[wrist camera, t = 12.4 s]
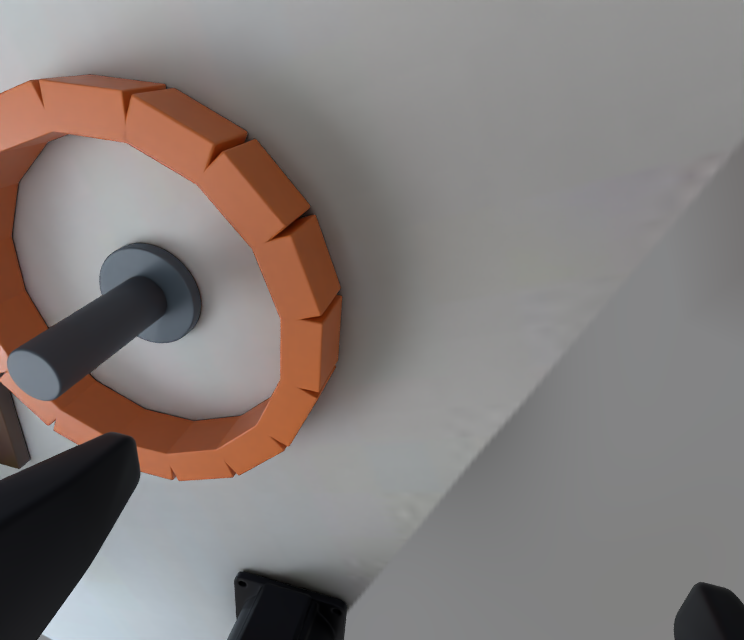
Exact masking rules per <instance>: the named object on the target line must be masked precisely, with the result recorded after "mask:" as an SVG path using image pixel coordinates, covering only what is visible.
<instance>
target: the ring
mask: <svg viewBox="0 0 744 640" xmlns="http://www.w3.org/2000/svg"><path fill="white" fill-rule="evenodd" d="M68 134H72V135H79V136H85V137H92V138H98V139H105V140H112V141H118V142H125V143H127V144H129V145H131V146H132V147H134V148H136V149H138V150H139V151H141V152H143V153H144V154H146V155H148V156H149V157H151V158H153V159H154V160H156V161H158V162H159V163H161V164H163V165H164V166H166V167H168V168H170V169H171V170H173V171H175V172H176V173H178V174H180V175H181V176H183V177H185V178H186V179H188V180H190V181H191V182H193V183H195V184H196V185H197V186H198V187H199V188H200V189H201V190H202V192H203V193H204V194H205V195H206V196H207V197H208V199H209V200H210V201H211V202H212V203H213V204H214V205H215V207H216V208H217V209H218V210H219V211H220V212H221V214H222V215H223V216H224V217H225V218H226V219H227V221H228V222H229V223H230V224H231V225H232V226H233V227H234V229H235V230H236V231H237V232H238V233H239V234H240V236H241V237H242V238H243V239H244V240H245V241H246V243H247V244H248V245H249V246H250V247H251V248H252V250H253V253H254V255H255V257H256V260H257V262H258V265H259V267H260V270H261V272H262V275H263V277H264V280H265V282H266V285H267V287H268V289H269V292H270V294H271V297H272V299H273V302H274V304H275V307H276V309H277V312H278V314H279V317H280V319H281V343H280V381H279V383H278V385H277V387H276V389H275V391H274V392H273V394H272V396H271V397H270V398H268V399H267V400H265V401H264V402H262V403H260V404H259V405H257V406H256V407H254V408H253V409H251V410H249V411H248V412H246V413H245V414H243V415H241V416H235V417H226V418H217V419H208V420H199V421H191V420H187V419H183V418H179V417H175V416H171V415H167V414H163V413H159V412H155V411H151V410H146V409H144V408H142V407H140V406H139V405H137V404H135V403H134V402H132V401H130V400H128V399H127V398H125V397H123V396H121V395H120V394H118V393H116V392H115V391H113V390H111V389H109V388H108V387H106V386H104V385H102V384H101V383H99V382H97V381H96V380H95V379H94V378H93V377H92V376H91V375H90V374H88V375H87V376H85V377H84V378H83V379H81V380H80V381H79V382H78V383H76V384H75V385H74V386H72V387H71V388H70V389H69V390H67V391H66V392H65V393H63V394H62V395H61V396H60V397H58V398H57V399H55V400H51V401H42V400H38V399H35V398H33V397H31V396H29V395H28V394H26V393H25V392H24V391H22V390H21V389H20V388H19V387H18V386H17V385H16V383H15V382H14V381H13V379H12V378H11V376H10V374H9V371H8V368H7V359H8V356H9V354H10V353H11V352H12V351H13V350H15V349H16V348H18V347H20V346H21V345H23V344H24V343H26V342H28V341H29V340H31V339H32V338H34V337H36V336H37V335H39V334H41V333H42V332H44V331H45V330H47V329H48V327H47V325H46V324H45V322H44V320H43V319H42V317H41V315H40V314H39V312H38V310H37V309H36V307H35V305H34V304H33V302H32V300H31V299H30V297H29V295H28V294H27V292H26V290H25V287H24V283H23V279H22V275H21V271H20V267H19V263H18V259H17V255H16V251H15V248H14V244H13V240H12V229H13V221H14V214H15V206H16V198H17V190H18V182H19V181H20V180H21V178H22V177H23V175H24V174H25V173H26V171H27V170H28V169H29V167H30V166H31V165H32V163H33V162H34V160H35V159H36V158H37V156H38V155H39V154H40V152H41V151H42V150H43V148H44V147H45V145H46V144H47V143H48V142H49V141H52V140H54V139H57V138H60V137H62V136H65V135H68ZM246 137H247V131H245V130H244V129H242V128H240V127H239V126H237V125H235V124H234V123H232V122H230V121H229V120H227V119H225V118H224V117H222V116H220V115H219V114H217V113H215V112H214V111H212V110H210V109H209V108H207V107H205V106H204V105H202V104H200V103H199V102H197V101H195V100H194V99H192V98H190V97H189V96H187V95H185V94H184V93H182V92H180V91H179V90H177V89H175V88H170V89H166V85H165V84H161V83H154V82H146V81H138V80H130V79H122V78H115V77H107V76H99V75H91V74H89V75H78V76H67V77H56V78H45V79H38V80H30V81H27V82H25V83H23V84H21V85H18V86H16V87H14V88H11V89H9V90H7V91H5V92H2V93H0V373H3V372H5V373H4V374H3V375H2V376H1V377H0V382H1V383H2V384H3V385H4V386H5V387H7V388H8V389H9V390H10V391H11V392H12V393H13V394H14V395H15V396H16V397H17V398H18V399H19V400H20V401H22V402H23V403H24V404H25V405H26V406H27V407H28V408H29V409H30V410H31V411H32V412H33V413H34V414H35V415H37V416H38V417H39V418H40V419H41V420H42V421H43V422H44V423H45V424H46V425H50V424H52V423H53V422H54V421H55V420H56V422H55V426H54V431H55V432H57V433H59V434H60V435H62V436H64V437H66V438H67V439H69V440H71V441H73V442H74V443H76V444H78V445H80V444H82V443H85V442H87V441H89V440H91V439H94V438H96V437H98V436H100V435H103V434H105V433H108V432H117V433H121V434H125V435H129V436H131V437H133V438H134V440H135V441H136V446H137V452H138V458H139V464H140V471H141V472H144V473H148V474H151V475H155V476H159V477H162V478H166V479H170V480H173V479H174V478H175V477H177V479H178V480H179V481H187V480H202V479H217V478H232V477H234V475H235V474H236V473H237V474H238V475H241V474H243V473H244V472H246V471H248V470H250V469H252V468H254V467H255V466H257V465H259V464H261V463H263V462H265V461H266V460H268V459H270V458H272V457H274V456H275V455H277V454H279V453H281V452H283V451H284V450H285V448H286V447H287V446H288V447H289V446H290V444H291V443H292V441H293V439H294V438H295V436H296V434H297V433H298V431H299V429H300V428H301V426H302V425H303V423H304V421H305V420H306V418H307V416H308V415H309V413H310V411H311V410H312V408H313V406H314V405H315V403H316V401H317V400H318V398H319V396H320V395H321V393H322V391H323V389H324V387H325V386H326V384H327V382H328V380H329V379H330V377H331V375H332V373H333V371H334V370H335V368H336V366H335V364H336V362H337V361H338V353H339V338H340V323H341V308H342V296H340V295H336V294H337V293H338V292H339V290H340V289H341V287H340V284H339V281H338V278H337V275H336V272H335V269H334V266H333V264H332V261H331V258H330V255H329V252H328V249H327V246H326V243H325V241H324V238H323V235H322V232H321V229H320V226H319V223H318V220H317V218H316V215H310V216H306V217H302V218H299V217H300V216H301V215H302V214H303V213H305V212H306V211H307V210H308V209H309V208H310V205H309V204H308V202H307V201H306V200H305V199H304V197H303V196H302V195H301V194H300V193H299V191H298V190H297V189H296V188H295V186H294V185H293V184H292V183H291V181H290V180H289V179H288V178H287V177H286V175H285V174H284V173H283V172H282V170H281V169H280V168H279V167H278V165H277V164H276V163H275V162H274V161H273V159H272V158H271V157H270V156H269V154H268V153H267V152H266V151H265V149H264V148H263V147H262V146H261V145H260V143H259V142H258V141H257V140H256V139H253V140H251V141H248V142H246V143H244V142H245V139H246ZM297 218H299V219H297Z"/></svg>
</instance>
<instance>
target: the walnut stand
mask: <svg viewBox="0 0 744 640" xmlns="http://www.w3.org/2000/svg"><path fill="white" fill-rule="evenodd" d="M3 374H4V372H3V373H0V377H1V376H2V375H3ZM28 461H30V457H29V454H28V450H27V447H26V444H25V440H24V437H23V434H22V430H21V427H20V424H19V420H18V417H17V414H16V410H15V407H14V404H13V401H12V397H11V394H10V391H9V389H8V388H7V387H5V386H4V385H3V384H2V383H1V382H0V464H3V465H7V466H10V467H14V468H18V469H20V468H22V467H23V466H24V465H25V464H26V463H27V462H28Z"/></svg>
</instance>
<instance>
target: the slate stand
mask: <svg viewBox="0 0 744 640" xmlns="http://www.w3.org/2000/svg"><path fill="white" fill-rule="evenodd" d="M99 282H100V290H101V294H102V296H100V297H99V298H97V299H95V300H94V301H92V302H91V303H89V304H87V305H86V306H84V307H83V308H81V309H79V310H78V311H76V312H74V313H73V314H71V315H70V316H68V317H66V318H65V319H63V320H62V321H60V322H58V323H57V324H55V325H53V326H52V327H50V328H49V329H47V330H45V331H44V332H42V333H41V334H39V335H37V336H36V337H34V338H32V339H31V340H29V341H28V342H26V343H24V344H23V345H21V346H20V347H18V348H16V349H15V350H13V351H12V352H11V353H10V354H9V356H8V359H7V368H8V371H9V374H10V376H11V378H12V379H13V381H14V382H15V383H16V385H17V386H18V387H19V388H20V389H21V390H22V391H24V392H25V393H26V394H28V395H29V396H31V397H33V398H35V399H38V400H42V401H51V400H55V399H57V398H58V397H60V396H61V395H62V394H63V393H65V392H66V391H67V390H69V389H70V388H71V387H72V386H74V385H75V384H76V383H78V382H79V381H80V380H81V379H83V378H84V377H85V376H87V375H88V374H89V373H90V372H92V371H93V370H94V369H95V368H97V367H98V366H99V365H101V364H102V363H103V362H104V361H106V360H107V359H108V358H110V357H111V356H112V355H113V354H115V353H116V352H117V351H119V350H120V349H121V348H122V347H124V346H125V345H126V344H128V343H129V342H130V341H131V340H133V339H134V338H135V337H136V336H137V337H139V338H141V339H144V340H147V341H150V342H155V343H169V342H173V341H176V340H179V339H180V338H182V337H183V336H185V335H186V334H187V333H188V332H189V331H190V330H191V329H192V328H193V327H194V326H195V324H196V323H197V321H198V319H199V315H200V310H201V300H200V294H199V290H198V287H197V285H196V283H195V281H194V279H193V277H192V275H191V274H190V272H189V271H188V270H187V268H186V267H185V266H184V265H183V264H182V263H181V262H180V261H179V260H178V259H177V258H176V257H174V256H173V255H172V254H170V253H169V252H167V251H165V250H163V249H161V248H159V247H157V246H154V245H150V244H143V243H134V244H129V245H126V246H124V247H122V248H120V249H118V250H116V251H115V252H113V253H111V254H110V255H109V256H108V257H107V258H106V260H105V261H104V263H103V265H102V268H101V271H100V281H99Z"/></svg>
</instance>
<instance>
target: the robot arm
mask: <svg viewBox="0 0 744 640" xmlns="http://www.w3.org/2000/svg"><path fill="white" fill-rule="evenodd" d="M140 472H141V471H140V464H139V458H138V452H137V446H136V441H135V440H134V438H133V437H131V436H129V435H125V434H121V433H117V432H108V433H105V434H103V435H100V436H98V437H96V438H94V439H91V440H89V441H87V442H85V443H82V444H80V445H78V446H76V447H73V448H71V449H69V450H67V451H64V452H62V453H60V454H58V455H55V456H53V457H51V458H49V459H46V460H44V461H42V462H40V463H38V464H35V465H33V466H31V467H29V468H26V469H24V470H22V471H20V472H17V473H15V474H13V475H11V476H8V477H6V478H4V479H2V480H0V640H37V639H38V638H39V637H40V635H41V634H42V632H43V631H44V630H45V628H46V627H47V625H48V624H49V623H50V621H51V620H52V618H53V617H54V616H55V614H56V613H57V611H58V610H59V609H60V607H61V606H62V604H63V603H64V602H65V600H66V599H67V597H68V596H69V595H70V593H71V592H72V591H73V589H74V588H75V586H76V585H77V584H78V582H79V581H80V579H81V578H82V576H83V575H84V573H85V572H86V571H87V569H88V568H89V566H90V565H91V563H92V561H93V560H94V558H95V557H96V555H97V553H98V552H99V550H100V548H101V547H102V545H103V543H104V541H105V540H106V538H107V536H108V534H109V533H110V531H111V529H112V528H113V526H114V524H115V522H116V521H117V519H118V517H119V516H120V514H121V512H122V510H123V509H124V507H125V505H126V504H127V502H128V500H129V498H130V497H131V495H132V493H133V492H134V490H135V488H136V486H137V484H138V482H139V479H140ZM234 585H235V601H236V617H237V620H236V622H235V624H234V626H233V629H232V631H231V633H230V635H229V637H228V639H227V640H344V633H345V623H346V613H347V605H346V604H345V602H343V601H342V600H339V599H336V598H333V597H329V596H326V595H322V594H319V593H315V592H312V591H309V590H305V589H302V588H298V587H295V586H291V585H288V584H285V583H281V582H278V581H274V580H271V579H267V578H264V577H261V576H257V575H254V574H250V573H247V572H239V573H238V574H237V576H236V578H235V581H234ZM674 637H675V640H744V604H743V603H742V602H741V601H740V599H739V598H738V597H737V596H736V595H735V594H734V593H733V592H732V591H730V590H729V589H726V588H723V587H719V586H715V585H712V584H708V583H704V582H699V583H697V584H695V585H694V586H693V588H692V589H691V591H690V593H689V594H688V596H687V598H686V600H685V601H684V603H683V604H682V606H681V608H680V609H679V611H678V613H677V615H676V618H675V623H674Z"/></svg>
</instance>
